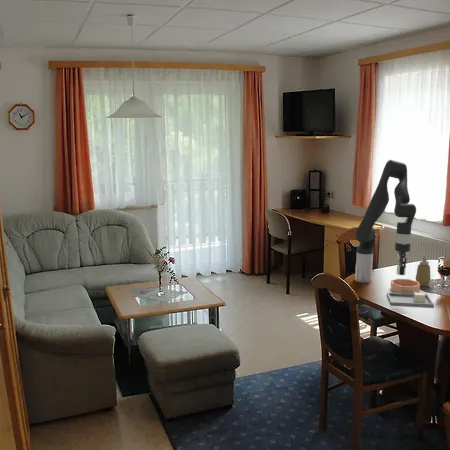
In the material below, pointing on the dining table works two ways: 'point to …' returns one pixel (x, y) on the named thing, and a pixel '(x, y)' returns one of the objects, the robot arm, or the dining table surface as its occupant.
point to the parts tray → (408, 300)
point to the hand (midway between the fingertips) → (400, 273)
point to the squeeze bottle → (423, 272)
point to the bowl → (405, 286)
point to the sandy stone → (419, 297)
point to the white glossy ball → (399, 270)
